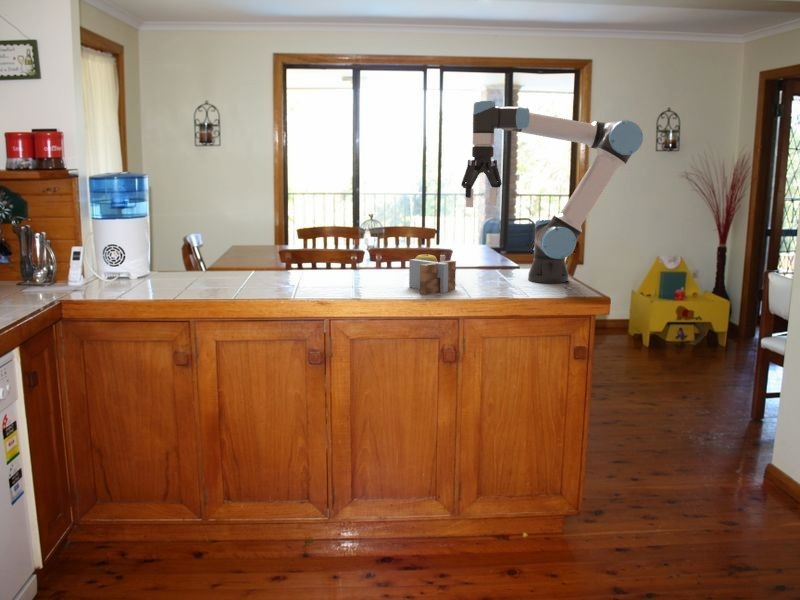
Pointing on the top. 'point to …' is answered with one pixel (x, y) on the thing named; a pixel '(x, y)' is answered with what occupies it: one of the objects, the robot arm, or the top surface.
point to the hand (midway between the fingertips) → (481, 206)
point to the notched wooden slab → (435, 277)
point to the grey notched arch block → (415, 274)
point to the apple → (427, 257)
